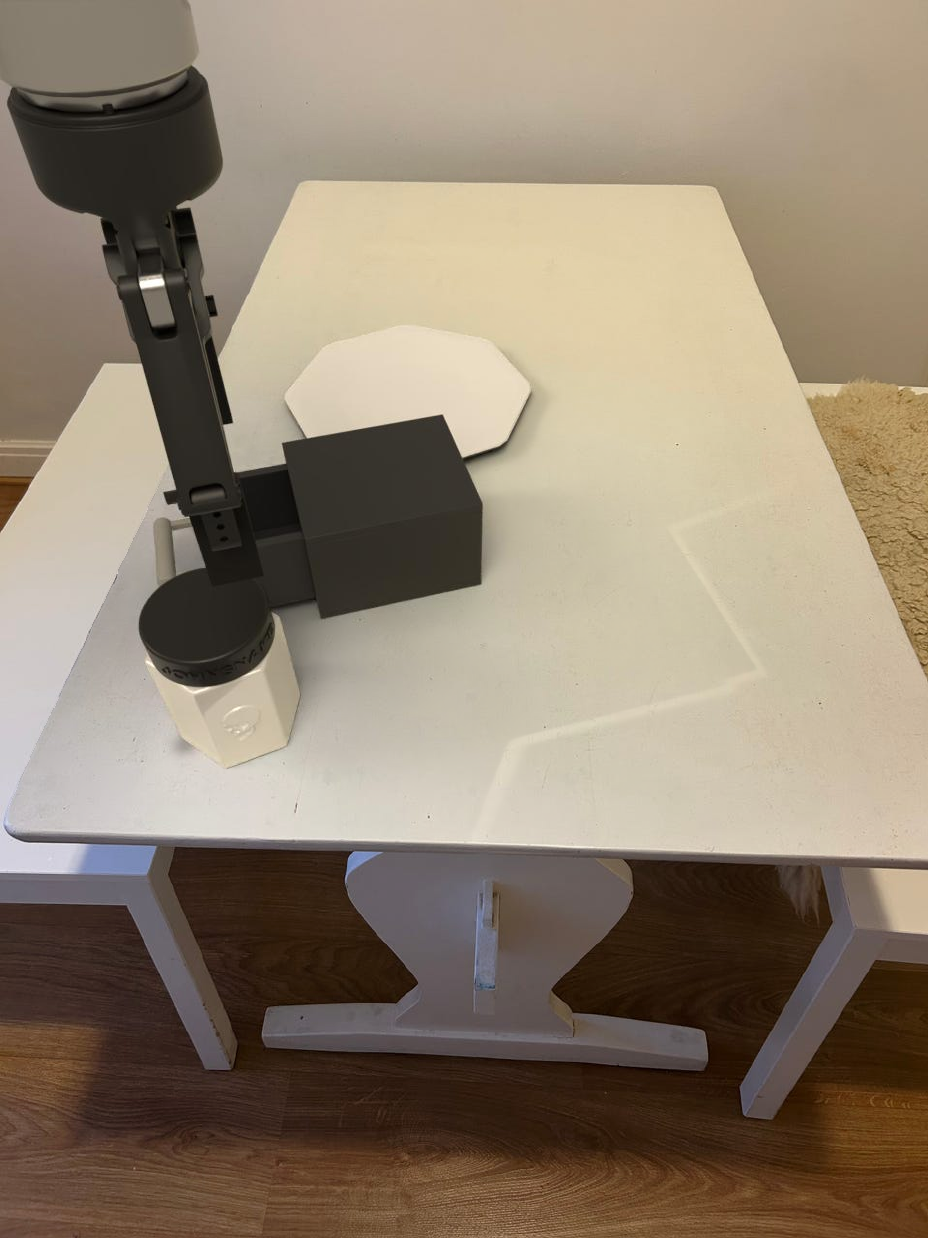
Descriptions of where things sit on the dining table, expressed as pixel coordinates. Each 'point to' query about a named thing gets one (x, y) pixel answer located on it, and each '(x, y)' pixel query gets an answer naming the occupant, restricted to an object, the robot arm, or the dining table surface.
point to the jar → (220, 665)
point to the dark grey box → (386, 514)
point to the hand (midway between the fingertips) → (223, 493)
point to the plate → (411, 386)
